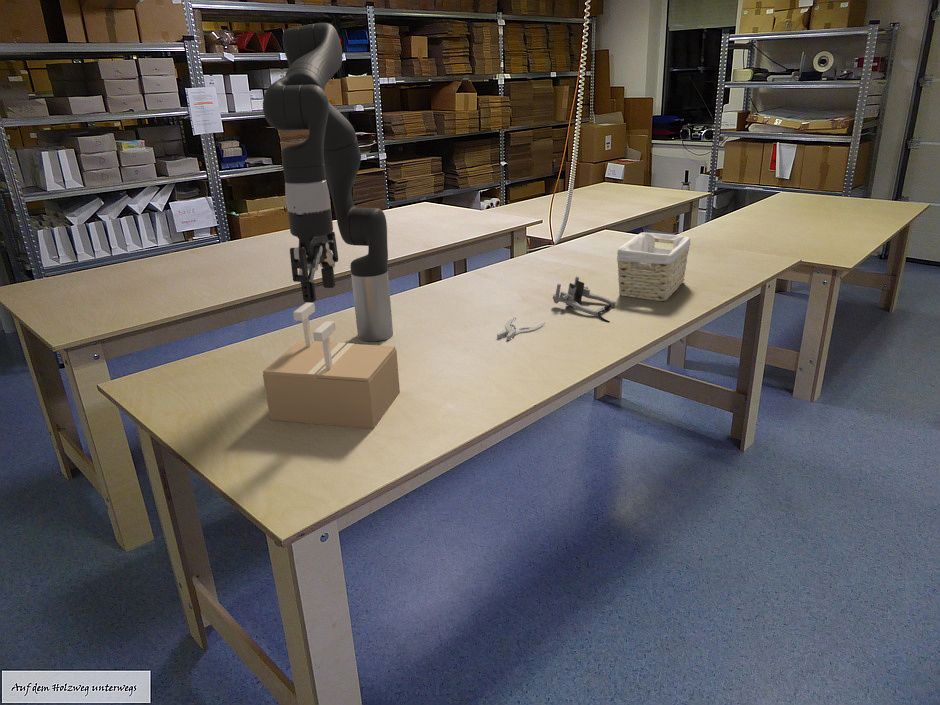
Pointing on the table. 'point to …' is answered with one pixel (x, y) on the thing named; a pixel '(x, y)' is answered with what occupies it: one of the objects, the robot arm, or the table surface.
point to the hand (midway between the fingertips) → (320, 294)
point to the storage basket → (652, 266)
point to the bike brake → (576, 295)
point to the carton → (326, 386)
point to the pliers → (512, 332)
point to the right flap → (350, 357)
